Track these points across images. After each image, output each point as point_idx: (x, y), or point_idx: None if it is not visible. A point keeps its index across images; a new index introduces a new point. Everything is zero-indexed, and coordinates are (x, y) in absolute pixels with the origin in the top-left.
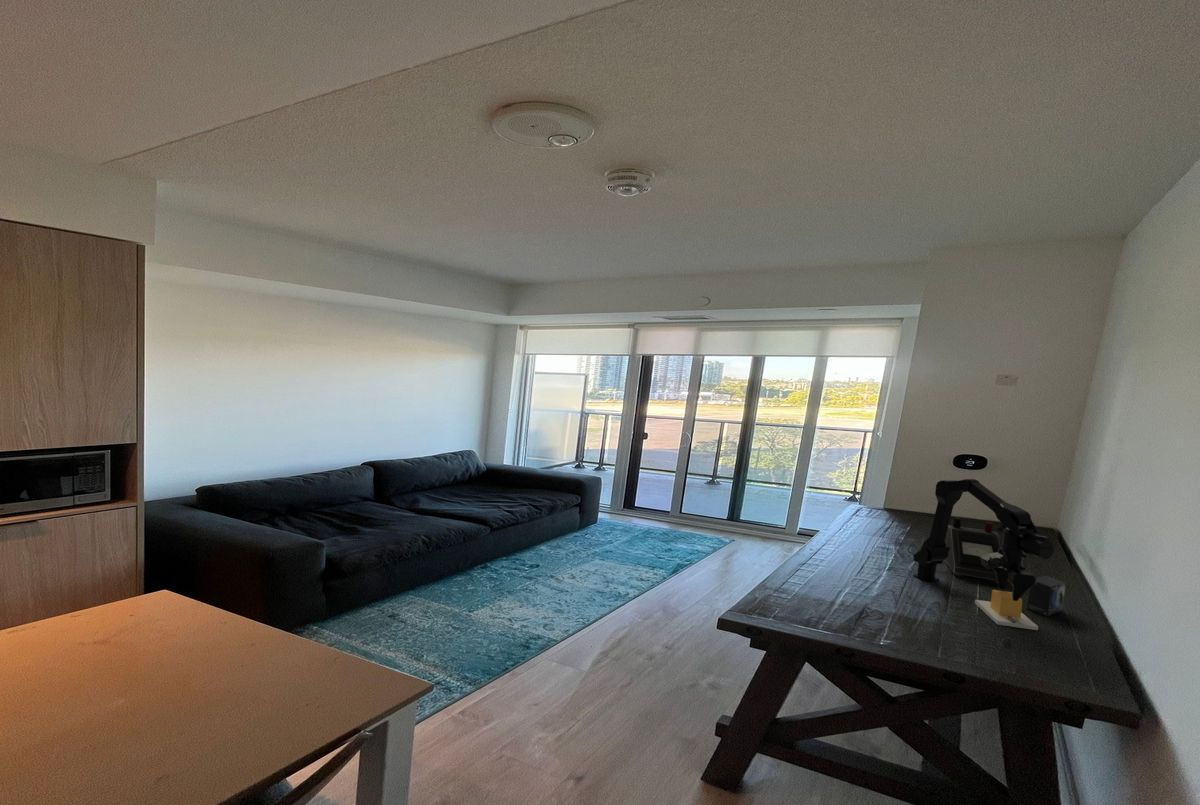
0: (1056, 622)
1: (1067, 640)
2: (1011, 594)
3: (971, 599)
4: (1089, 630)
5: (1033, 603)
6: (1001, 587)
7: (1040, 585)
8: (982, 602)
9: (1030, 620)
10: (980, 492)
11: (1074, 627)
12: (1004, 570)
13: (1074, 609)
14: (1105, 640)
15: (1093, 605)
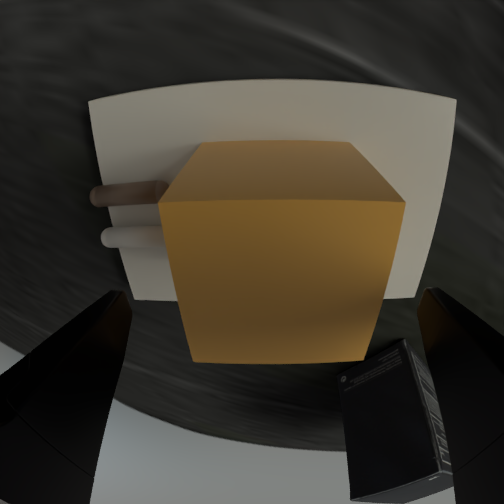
0: (283, 380)
1: None
2: (305, 336)
3: (488, 111)
4: (250, 422)
5: (389, 380)
6: (427, 315)
7: (391, 477)
8: (420, 125)
9: None
10: None
11: (257, 404)
12: (496, 495)
13: None
14: (188, 421)
15: None
